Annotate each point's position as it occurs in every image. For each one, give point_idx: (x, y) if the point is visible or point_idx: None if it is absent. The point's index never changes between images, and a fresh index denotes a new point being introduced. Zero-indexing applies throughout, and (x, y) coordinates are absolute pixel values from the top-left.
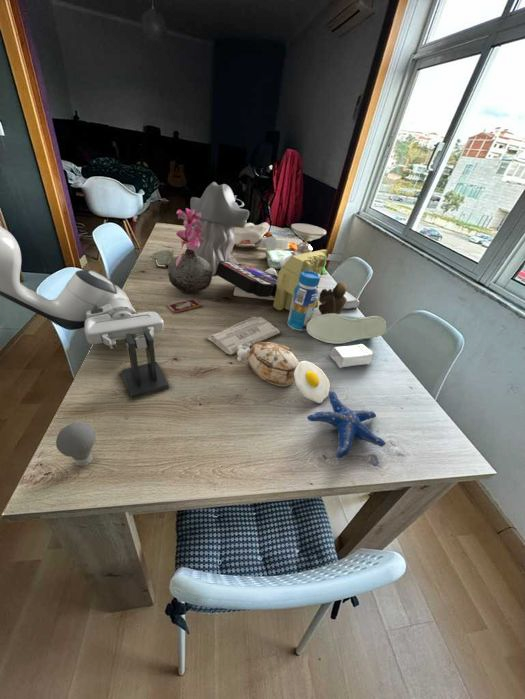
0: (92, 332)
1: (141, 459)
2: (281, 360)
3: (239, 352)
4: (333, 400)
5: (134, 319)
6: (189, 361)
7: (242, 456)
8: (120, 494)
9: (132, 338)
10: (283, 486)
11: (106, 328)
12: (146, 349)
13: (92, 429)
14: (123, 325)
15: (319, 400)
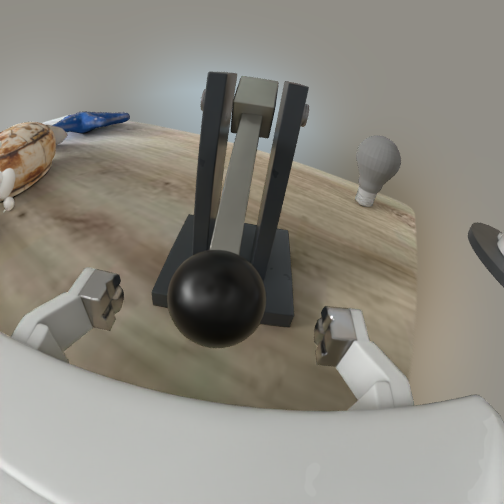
0: (472, 404)
1: (296, 178)
2: (35, 122)
3: (11, 175)
4: (64, 122)
5: (49, 494)
6: (64, 262)
7: (188, 144)
8: (323, 173)
9: (286, 82)
10: (182, 131)
11: (394, 447)
12: (218, 160)
13: (362, 143)
14: (217, 456)
15: (57, 142)
